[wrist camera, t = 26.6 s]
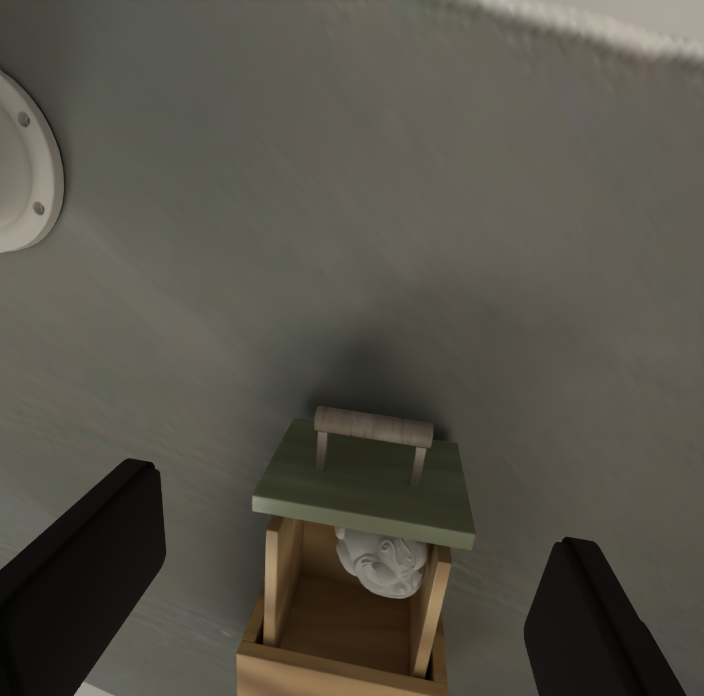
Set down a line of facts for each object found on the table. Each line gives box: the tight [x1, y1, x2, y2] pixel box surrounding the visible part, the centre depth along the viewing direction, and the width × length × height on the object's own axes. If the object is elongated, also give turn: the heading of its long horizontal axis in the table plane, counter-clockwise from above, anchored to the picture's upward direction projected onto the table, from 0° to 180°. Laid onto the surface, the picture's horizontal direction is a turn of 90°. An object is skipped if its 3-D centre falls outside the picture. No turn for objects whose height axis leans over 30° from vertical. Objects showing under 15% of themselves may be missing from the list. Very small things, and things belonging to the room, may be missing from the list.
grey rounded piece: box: [335, 526, 427, 599], centre depth 27 cm, size 6×7×7 cm
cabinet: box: [237, 581, 449, 696], centre depth 33 cm, size 17×14×11 cm
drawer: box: [252, 406, 476, 679], centre depth 28 cm, size 20×13×9 cm, turn 175°
